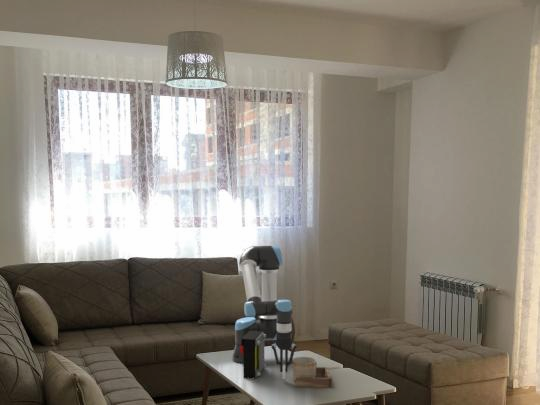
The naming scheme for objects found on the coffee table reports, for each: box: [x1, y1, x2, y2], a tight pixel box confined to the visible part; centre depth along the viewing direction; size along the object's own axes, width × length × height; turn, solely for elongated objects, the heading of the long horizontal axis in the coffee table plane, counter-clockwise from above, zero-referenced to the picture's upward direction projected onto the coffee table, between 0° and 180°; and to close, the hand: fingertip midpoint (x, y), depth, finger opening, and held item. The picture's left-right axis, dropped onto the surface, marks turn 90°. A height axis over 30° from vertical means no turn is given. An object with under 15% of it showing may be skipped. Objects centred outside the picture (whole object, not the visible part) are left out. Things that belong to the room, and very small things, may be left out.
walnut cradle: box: [295, 366, 332, 388], centre depth 273 cm, size 18×17×4 cm
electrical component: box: [240, 331, 267, 379], centre depth 286 cm, size 18×10×20 cm, turn 168°
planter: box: [291, 356, 318, 383], centre depth 273 cm, size 13×13×10 cm
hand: (283, 378), depth 272 cm, fingers closed
